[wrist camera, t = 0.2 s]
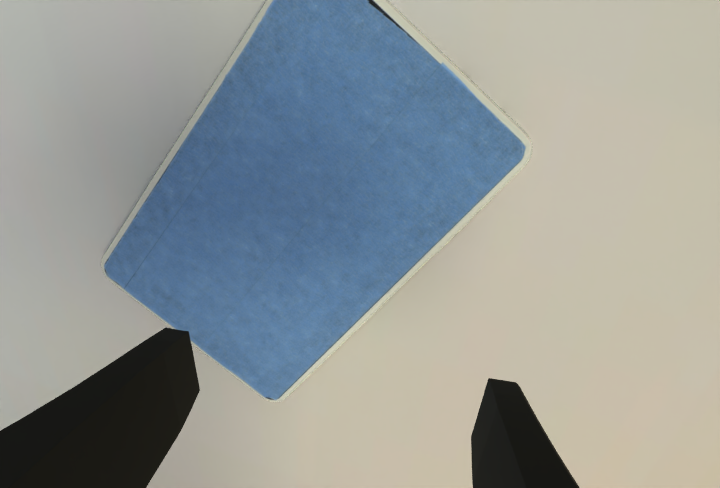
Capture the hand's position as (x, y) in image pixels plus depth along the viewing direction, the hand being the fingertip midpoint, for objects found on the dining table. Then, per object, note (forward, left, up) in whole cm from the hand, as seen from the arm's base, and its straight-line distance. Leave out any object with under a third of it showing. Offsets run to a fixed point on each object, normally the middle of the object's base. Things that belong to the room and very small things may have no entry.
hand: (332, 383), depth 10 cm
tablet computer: (-2, +4, -11) cm, 12 cm away
